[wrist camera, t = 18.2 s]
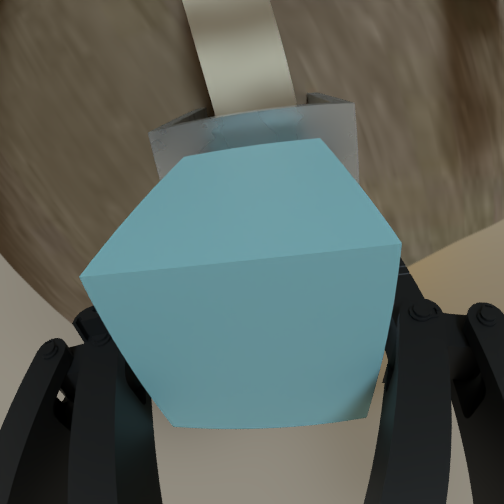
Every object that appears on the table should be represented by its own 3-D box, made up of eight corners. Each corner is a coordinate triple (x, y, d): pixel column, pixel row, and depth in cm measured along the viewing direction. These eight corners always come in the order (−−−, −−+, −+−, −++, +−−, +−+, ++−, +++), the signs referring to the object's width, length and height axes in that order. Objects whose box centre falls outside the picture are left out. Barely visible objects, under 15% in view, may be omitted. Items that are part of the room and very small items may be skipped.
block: (211, 268, 16) (173, 426, 9) (183, 156, 13) (79, 277, 5) (327, 256, 16) (366, 417, 8) (320, 138, 12) (402, 243, 5)
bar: (299, 152, 27) (313, 183, 20) (246, 163, 28) (238, 198, 21) (241, -58, 16) (232, -103, 9) (188, -44, 17) (158, -82, 10)
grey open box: (327, 195, 29) (358, 264, 19) (215, 208, 31) (190, 282, 20) (318, 92, 24) (354, 102, 14) (195, 109, 25) (147, 132, 15)
